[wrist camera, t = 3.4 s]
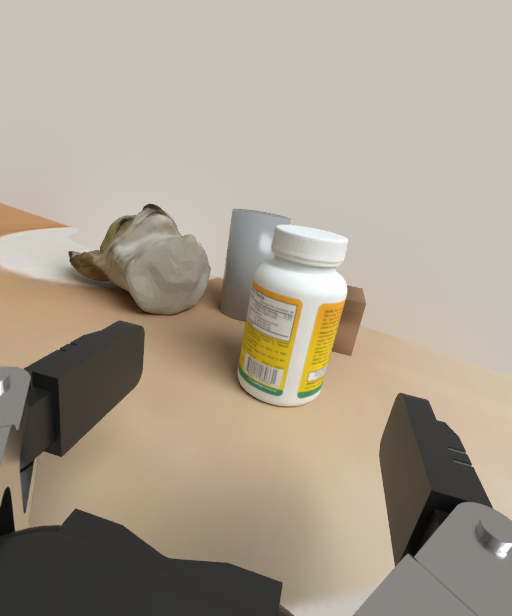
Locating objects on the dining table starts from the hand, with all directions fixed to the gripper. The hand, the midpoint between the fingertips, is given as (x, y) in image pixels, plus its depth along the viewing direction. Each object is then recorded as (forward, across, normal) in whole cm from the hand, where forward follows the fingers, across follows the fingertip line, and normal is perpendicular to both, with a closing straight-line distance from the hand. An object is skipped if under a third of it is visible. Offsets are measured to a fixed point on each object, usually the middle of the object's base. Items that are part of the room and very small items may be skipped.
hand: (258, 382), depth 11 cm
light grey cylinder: (+21, +5, +6) cm, 22 cm away
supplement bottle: (+10, 0, +6) cm, 12 cm away
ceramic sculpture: (+20, +14, +6) cm, 25 cm away
